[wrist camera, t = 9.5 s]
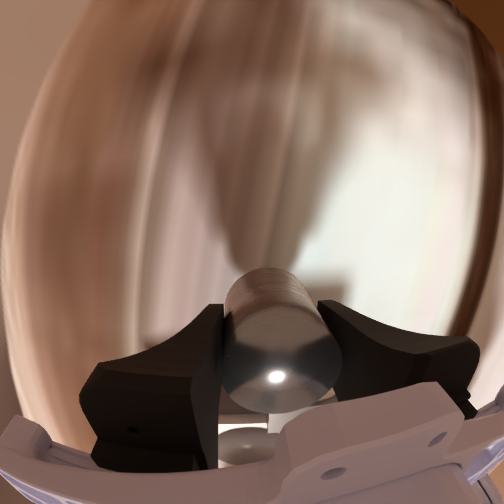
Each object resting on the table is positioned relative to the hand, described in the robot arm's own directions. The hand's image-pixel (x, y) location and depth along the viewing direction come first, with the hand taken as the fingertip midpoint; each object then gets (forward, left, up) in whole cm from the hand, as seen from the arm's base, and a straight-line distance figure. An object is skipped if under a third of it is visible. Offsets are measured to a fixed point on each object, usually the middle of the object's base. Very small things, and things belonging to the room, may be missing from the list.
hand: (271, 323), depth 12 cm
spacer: (0, 0, -2) cm, 2 cm away
